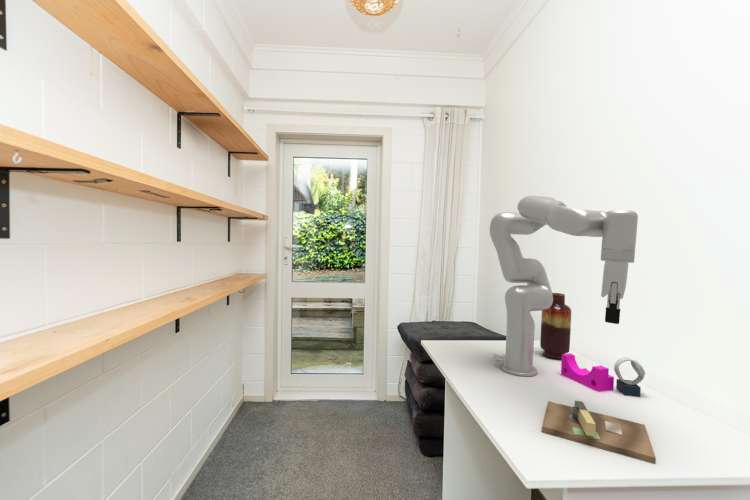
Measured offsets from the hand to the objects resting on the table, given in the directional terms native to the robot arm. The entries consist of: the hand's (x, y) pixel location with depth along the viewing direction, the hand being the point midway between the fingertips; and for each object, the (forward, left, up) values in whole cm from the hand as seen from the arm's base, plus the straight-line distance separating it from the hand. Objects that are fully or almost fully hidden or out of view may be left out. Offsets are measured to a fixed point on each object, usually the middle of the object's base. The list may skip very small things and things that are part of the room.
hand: (611, 322), depth 95 cm
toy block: (-5, +24, -27) cm, 36 cm away
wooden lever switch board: (-3, -13, -26) cm, 29 cm away
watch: (+7, +22, -26) cm, 35 cm away
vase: (-16, +49, -26) cm, 58 cm away
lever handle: (-6, -12, -24) cm, 28 cm away
